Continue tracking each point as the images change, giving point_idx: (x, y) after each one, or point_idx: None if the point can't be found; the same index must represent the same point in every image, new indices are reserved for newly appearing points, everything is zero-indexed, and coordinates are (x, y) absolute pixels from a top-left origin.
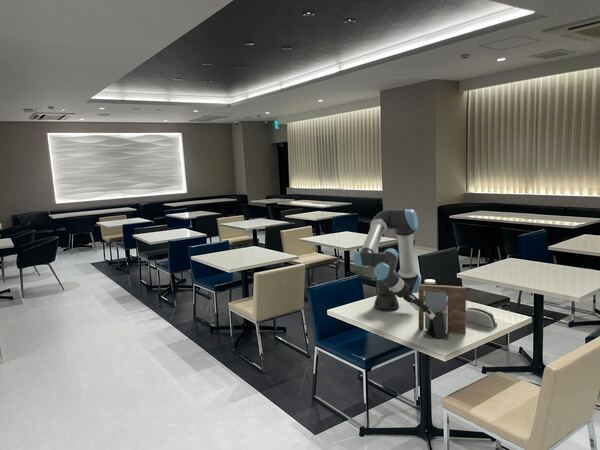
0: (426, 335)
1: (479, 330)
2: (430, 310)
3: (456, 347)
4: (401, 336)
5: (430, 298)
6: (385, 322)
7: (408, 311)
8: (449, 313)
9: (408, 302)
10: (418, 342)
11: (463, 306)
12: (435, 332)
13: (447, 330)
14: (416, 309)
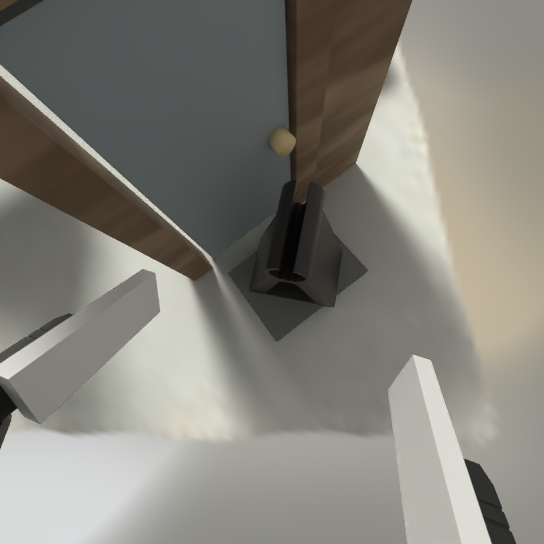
0: (266, 308)
1: None
2: (465, 465)
3: (451, 308)
4: (189, 414)
5: (141, 108)
6: (26, 328)
7: None
8: (307, 128)
9: (8, 417)
10: (298, 408)
11: (398, 10)
12: (321, 300)
13: (297, 199)
14: (145, 321)
